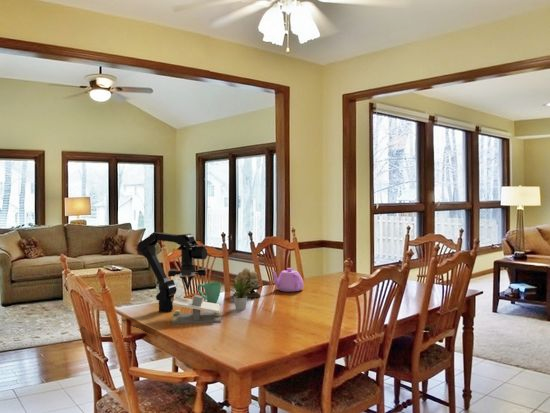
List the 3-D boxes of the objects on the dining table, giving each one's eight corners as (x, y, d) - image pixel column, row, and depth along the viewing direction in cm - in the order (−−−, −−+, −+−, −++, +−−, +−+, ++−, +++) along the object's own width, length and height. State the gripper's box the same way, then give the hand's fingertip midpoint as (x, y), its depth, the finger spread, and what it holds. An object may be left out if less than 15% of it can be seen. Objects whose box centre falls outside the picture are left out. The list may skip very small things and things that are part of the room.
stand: (170, 324, 222) (170, 312, 222) (174, 315, 238) (174, 304, 238) (220, 322, 225) (220, 310, 225) (220, 313, 241) (220, 302, 241)
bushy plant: (265, 296, 282) (265, 267, 282) (256, 300, 272) (255, 270, 271) (239, 293, 290) (238, 265, 290) (228, 297, 280) (228, 268, 279)
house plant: (250, 313, 241) (250, 281, 241) (224, 312, 244) (223, 280, 244) (257, 306, 255) (256, 276, 255) (232, 305, 258) (231, 275, 258)
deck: (172, 305, 223) (174, 294, 223) (175, 298, 237) (177, 288, 237) (219, 313, 226) (221, 302, 226) (219, 306, 239) (221, 296, 239)
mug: (224, 300, 270) (224, 283, 270) (215, 304, 261) (215, 286, 261) (203, 298, 276) (202, 281, 276) (193, 302, 267) (192, 284, 267)
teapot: (263, 289, 301) (262, 267, 301) (292, 285, 312) (292, 264, 311) (279, 295, 282) (279, 272, 282) (311, 291, 292) (310, 269, 292)
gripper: (166, 261, 234) (167, 293, 234) (205, 260, 236) (205, 292, 236) (169, 258, 245) (169, 288, 245) (205, 257, 247) (206, 287, 247)
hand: (187, 289), depth 243 cm, fingers closed
